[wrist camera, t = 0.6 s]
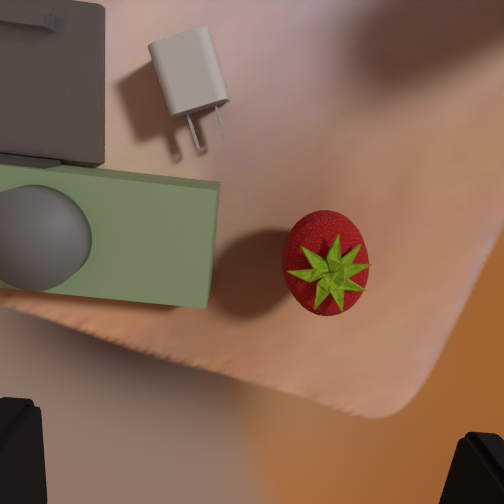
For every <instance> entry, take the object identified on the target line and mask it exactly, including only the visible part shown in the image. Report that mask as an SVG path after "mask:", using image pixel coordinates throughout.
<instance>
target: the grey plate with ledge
mask: <svg viewBox="0 0 504 504" xmlns="http://www.w3.org/2000/svg"><path fill="white" fill-rule="evenodd" d="M0 152H2V153H11V154H20V155H28V156H37V157H46V158H54V159H63V160H72V161H80V162H89V163H98V164H101V163H105V8H104V7H103V6H102V5H100V4H96V3H88V2H81V1H73V0H0Z"/></svg>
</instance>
